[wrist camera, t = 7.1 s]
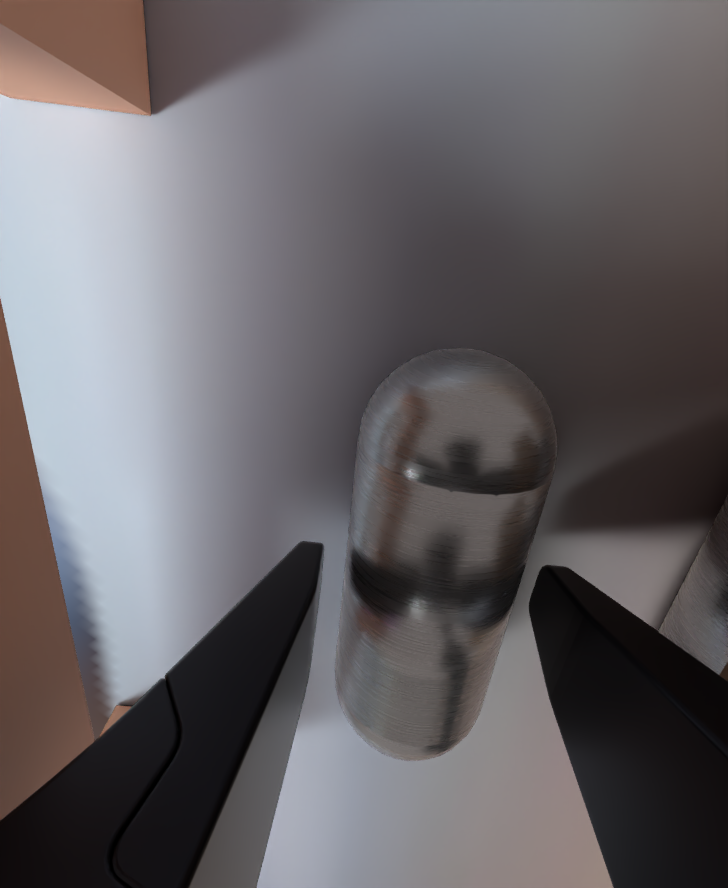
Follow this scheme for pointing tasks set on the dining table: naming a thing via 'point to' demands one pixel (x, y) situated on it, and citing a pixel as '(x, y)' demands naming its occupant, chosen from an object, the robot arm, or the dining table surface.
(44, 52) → the bar
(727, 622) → the roller
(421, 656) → the roller
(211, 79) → the dining table surface
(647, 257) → the dining table surface
